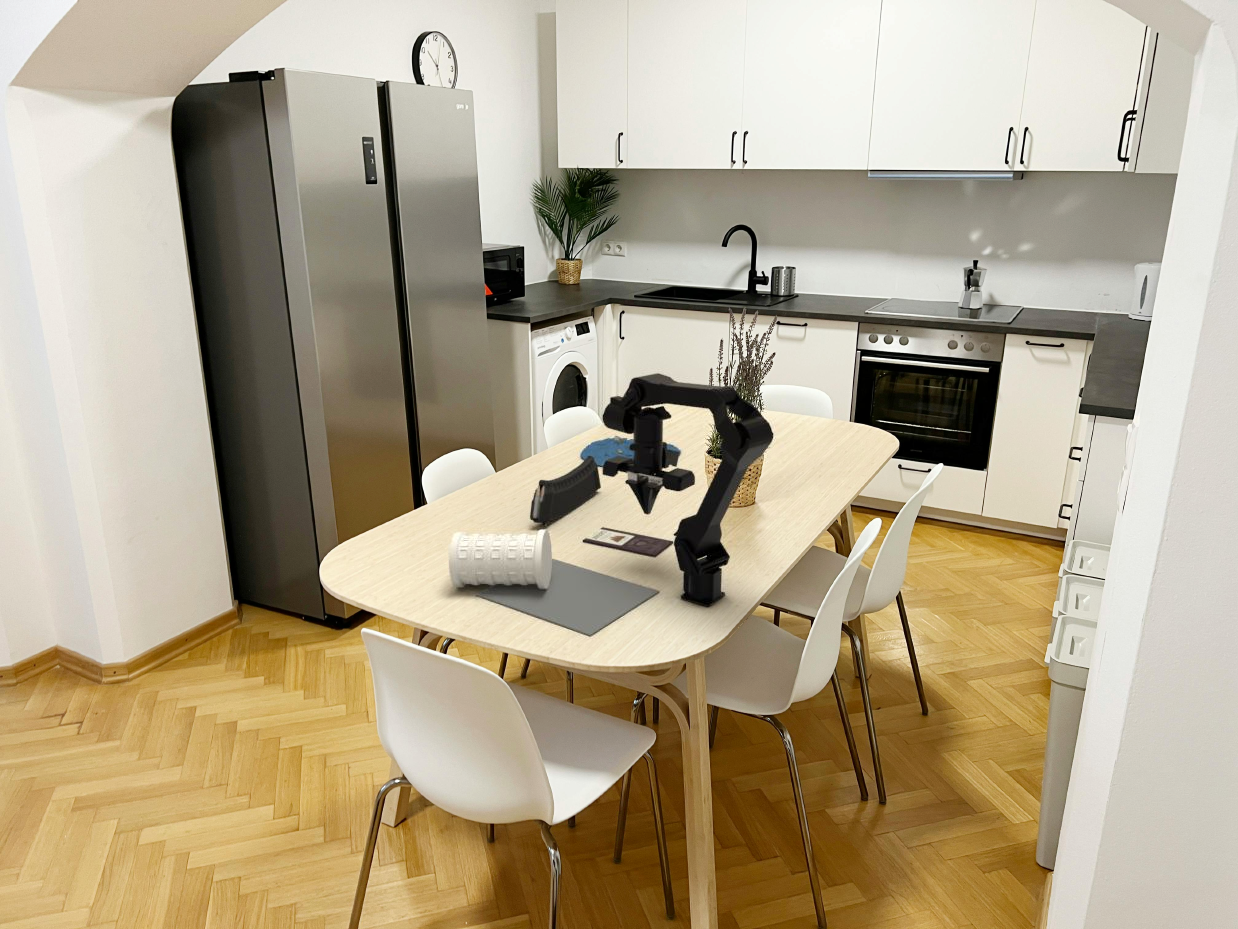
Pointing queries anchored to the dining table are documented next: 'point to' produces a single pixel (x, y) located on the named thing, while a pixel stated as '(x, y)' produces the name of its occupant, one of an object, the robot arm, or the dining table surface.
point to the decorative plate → (612, 449)
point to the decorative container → (501, 559)
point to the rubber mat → (573, 598)
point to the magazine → (565, 492)
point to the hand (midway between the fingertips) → (647, 513)
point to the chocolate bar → (628, 542)
